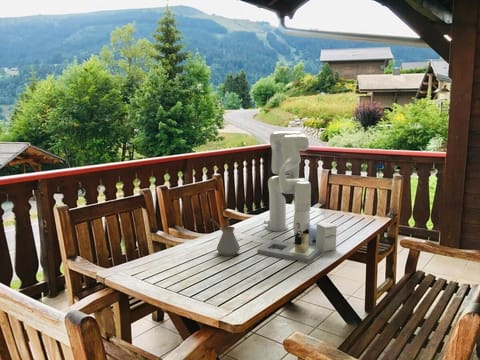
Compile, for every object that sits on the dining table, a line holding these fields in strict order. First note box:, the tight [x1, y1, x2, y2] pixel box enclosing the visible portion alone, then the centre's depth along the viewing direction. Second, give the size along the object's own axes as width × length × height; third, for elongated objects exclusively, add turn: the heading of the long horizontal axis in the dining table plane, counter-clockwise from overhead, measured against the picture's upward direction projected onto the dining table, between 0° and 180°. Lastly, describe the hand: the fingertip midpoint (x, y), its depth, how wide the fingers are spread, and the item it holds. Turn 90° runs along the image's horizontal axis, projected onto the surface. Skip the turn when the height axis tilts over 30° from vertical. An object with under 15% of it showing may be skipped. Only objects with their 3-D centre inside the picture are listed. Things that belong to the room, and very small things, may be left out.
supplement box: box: [315, 222, 338, 252], centre depth 208 cm, size 7×7×13 cm
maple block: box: [294, 232, 310, 253], centre depth 199 cm, size 5×5×8 cm
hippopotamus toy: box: [309, 224, 317, 245], centre depth 220 cm, size 11×15×10 cm
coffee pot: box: [210, 217, 241, 257], centre depth 207 cm, size 21×12×15 cm, turn 36°
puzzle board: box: [256, 240, 322, 264], centre depth 203 cm, size 27×16×2 cm, turn 60°
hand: (301, 241), depth 199 cm, fingers open, 9 cm apart
